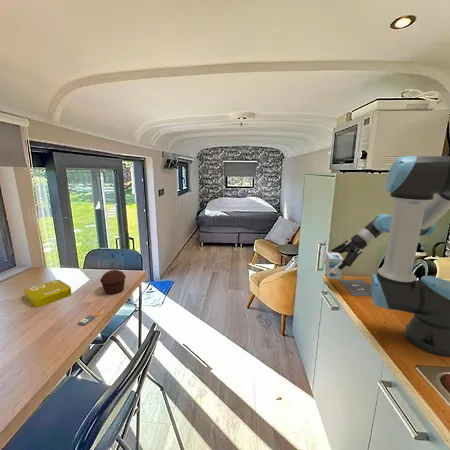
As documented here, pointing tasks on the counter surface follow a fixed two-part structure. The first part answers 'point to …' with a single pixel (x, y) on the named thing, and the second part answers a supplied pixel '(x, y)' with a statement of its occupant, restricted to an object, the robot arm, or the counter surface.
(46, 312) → the counter surface
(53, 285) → the element tile
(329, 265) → the light bulb box
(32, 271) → the counter surface
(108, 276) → the muffin
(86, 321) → the key chain
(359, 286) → the mat
